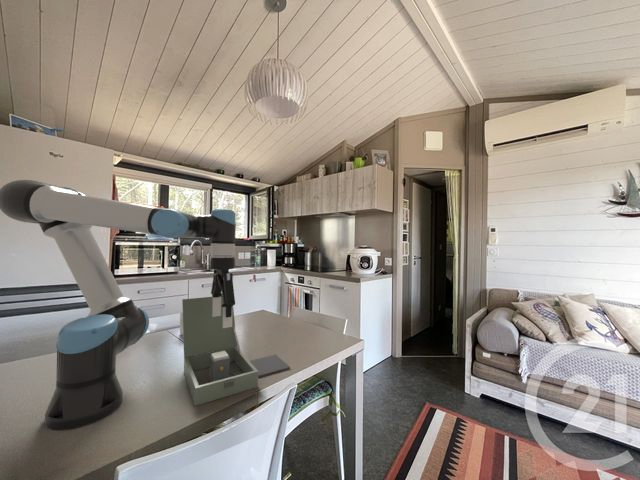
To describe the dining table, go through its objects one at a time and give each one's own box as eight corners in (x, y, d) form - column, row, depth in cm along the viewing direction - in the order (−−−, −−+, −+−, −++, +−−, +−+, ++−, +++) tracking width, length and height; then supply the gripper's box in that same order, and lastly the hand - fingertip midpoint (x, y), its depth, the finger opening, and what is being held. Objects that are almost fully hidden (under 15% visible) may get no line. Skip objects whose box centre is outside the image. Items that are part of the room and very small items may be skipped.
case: (195, 407, 71) (197, 322, 71) (180, 361, 97) (182, 299, 97) (258, 387, 82) (260, 313, 82) (229, 350, 107) (231, 294, 107)
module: (213, 385, 82) (213, 359, 82) (209, 377, 87) (210, 353, 87) (229, 380, 85) (230, 356, 85) (224, 373, 89) (225, 350, 89)
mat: (258, 377, 87) (258, 375, 87) (245, 363, 97) (246, 361, 97) (290, 368, 94) (290, 366, 94) (275, 355, 104) (275, 354, 104)
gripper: (247, 259, 78) (245, 330, 78) (224, 254, 98) (223, 310, 98) (220, 259, 74) (219, 335, 74) (203, 254, 94) (201, 313, 94)
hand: (221, 321), depth 86 cm, fingers open, 13 cm apart
